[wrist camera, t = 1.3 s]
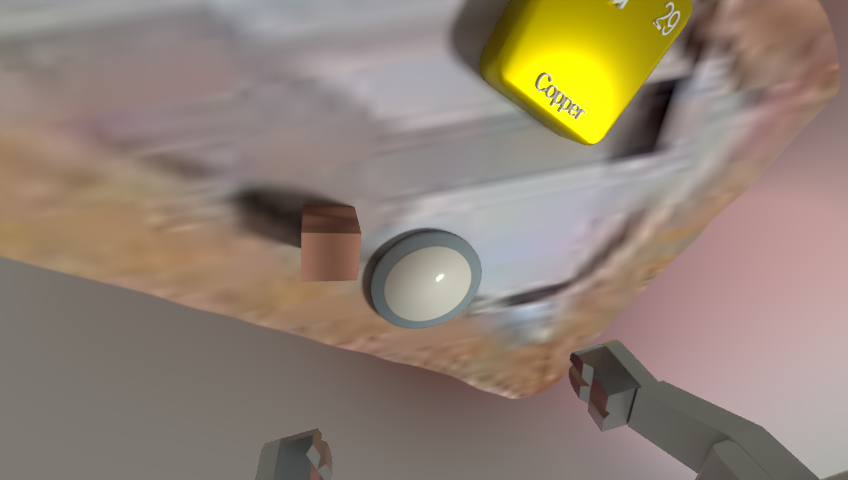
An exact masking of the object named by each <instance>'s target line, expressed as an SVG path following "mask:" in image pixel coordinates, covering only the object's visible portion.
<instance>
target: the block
mask: <svg viewBox="0 0 848 480" xmlns="http://www.w3.org/2000/svg"><path fill="white" fill-rule="evenodd" d="M360 243H361V231H360V227H359V223H358V219H357V215H356V211H355V207H342V206H318V205H303V216H302V231H301V282H307V281H346V280H357V277H358V266H359V254H360Z"/></svg>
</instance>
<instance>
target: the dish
mask: <svg viewBox="0 0 848 480" xmlns="http://www.w3.org/2000/svg"><path fill="white" fill-rule="evenodd" d="M481 275H482V269H481V263H480V260H479V257H478V255H477V254H476V252H475V251H474V249H473V248H472V247H471V246H470V244H469V243H468V242H467V241H465V240H464V239H463V238H461V237H459V236H457V235H455V234H452V233H449V232H445V231H426V232H420V233H417V234H413V235H411V236H408V237H406V238H404V239H402V240H400V241H399V242H397V243H396V244H394V245H393V246H392V247H391V248H389V249H388V250H387V251H386V252H385V253H384V254H383V256H382V257H381V258H380V260H379V261H378V262H377V264H376V266H375V268H374V271H373V273H372V277H371V282H370V290H371V296H372V300H373V303H374V306H375V308H376V310H377V311H378V313H379V314H380V315H381V316H382V317H383V318H384V319H385V320H387V321H388V322H390V323H392V324H394V325H396V326H399V327H403V328H409V329H421V328H428V327H433V326H436V325H439V324H441V323H444V322H446V321H448V320H450V319H451V318H453V317H454V316H456V315H457V314H459V313H460V312H461V311H462V310H463V309H464V308H465V307H466V306H467V305H468V304H469V303H470V302H471V300H472V299H473V297H474V296H475V294H476V292H477V290H478V288H479V285H480V281H481Z"/></svg>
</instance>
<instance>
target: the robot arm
mask: <svg viewBox="0 0 848 480" xmlns="http://www.w3.org/2000/svg"><path fill="white" fill-rule="evenodd" d="M570 361H571V363H572V364H573V365H572V366H571V367H570V368H569V379H570V382H571V385H572V387H573V389H574V391H575V393H576V394H577V396H578V397H579V398H580V399H581V400H583V401H585V402H586V403H588V412H589V414H590V415H591V417H592V418H593V420H594V421H595V423H596V424H597V426H598V427H599V428H600V430H601V432H603V431H606V430H610V429H613V428H617V427H620V426H623V425H627V424H628V426H629V427H630V428H632V429H633V430H634V431H636V432H637V433H639V434H641V435H642V436H643V437H645V438H646V439H648V440H649V441H651V442H652V443H654V444H655V445H657V446H658V447H659V448H661V449H663V450H664V451H665V452H667V453H668V454H670V455H671V456H673V457H674V458H676V459H677V460H679V461H680V462H682V463H683V464H685V465H686V466H688V467H689V468H691V469H692V470H693V471H695V472H696V473H698V475H697V477H696V479H695V480H820V479H819V478H818V477H817V476H816V475H815V474H813V473H812V472H811V471H810V470H809V469H808V468H807V467H806V466H805V465H803V464H802V463H801V462H800V461H799V460H798V459H797V458H796V457H795V456H794V455H792V453H790V452H789V451H788V450H787V449H786V448H785V447H784V446H783V445H782V444H780V443H779V442H778V441H777V440H776V439H775V438H774V437H773V436H772V435H771V434H770V433H769V432H767V431H766V430H765V429H764V428H763V427H761V426H759V425H757V424H755V423H753V422H751V421H749V420H746V419H744V418H742V417H740V416H738V415H736V414H734V413H731V412H729V411H727V410H725V409H723V408H721V407H718V406H716V405H714V404H712V403H710V402H708V401H706V400H704V399H701V398H699V397H697V396H695V395H693V394H691V393H689V392H687V391H684V390H682V389H680V388H678V387H676V386H674V385H671V384H669V383H667V382H665V381H659V382H658V381H657V380H656V379H655V378H654V376H653V375H652V374H651V373H650V372H649V371H648V370H647V369H646V368H645V367H644V366H643V365H642V364H641V363H640V362H639V361H638V360H637V359H636V358H635V356H634V355H633V354H632V353H631V352H630V351H629V350H628V349H627V348H626V347H625V346H624V345H623V344H622V343H621V342H620V341H618V340H612V341H609V342H605V343H602V344H597V345H594V346H591V347H588V348H585V349H582V350H579V351H575V352H572V354H571V355H570ZM321 438H322V434H321V432H320V431H319V429H318V428H316V429H313V430H310V431H306V432H303V433H299V434H296V435H292V436H289V437H285V438H281V439H277V440H274V441H271V442H268V443H265V444H264V446H263V449H262V451H261V455H260V461H259V465H258V470H257V475H256V479H255V480H330V478H331V476H332V456H331V451H330V448H329V445H328V444H327V442H325V441H323V440H321ZM821 480H848V470H846V471H843V472H841V473H838V474H835V475H832V476H829V477H827V478H824V479H821Z"/></svg>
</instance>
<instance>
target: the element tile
mask: <svg viewBox="0 0 848 480" xmlns="http://www.w3.org/2000/svg"><path fill="white" fill-rule="evenodd" d="M691 12H692V0H510V1H509V3H508V5H507V7H506V9H505V11H504V12H503V14H502V16H501V18H500V20H499V21H498V23H497V25H496V27H495V29H494V30H493V32H492V34H491V36H490V38H489V40H488V41H487V43H486V45H485V47H484V49H483V51H482V54H481V57H480V63H479V67H480V73H481V75H482V77H483V79H484V80H485V81H486V82H487V83H488V84H489V85H490V86H492V87H493V88H494V89H496V90H497V91H499V92H500V93H501V94H503V95H504V96H505V97H507V98H508V99H510V100H511V101H512V102H514V103H515V104H516V105H518V106H519V107H521V108H522V109H523V110H525V111H526V112H527V113H529V114H530V115H532V116H533V117H534V118H536V119H537V120H538V121H540V122H541V123H543V124H544V125H545V126H547V127H548V128H549V129H551V130H552V131H554V132H555V133H556V134H558V135H559V136H561V137H564V138H567V139H569V140H572V141H575V142H577V143H580V144H583V145H594V144H596V143H598V142H599V141H601V140H602V139H603V138H604V137H605V136H606V135H607V133H608V132H609V131H610V129H611V128H612V127H613V125H614V124H615V122H616V121H617V120H618V118H619V117H620V115H621V114H622V113H623V111H624V110H625V109H626V107H627V106H628V104H629V103H630V102H631V100H632V99H633V98H634V96H635V95H636V93H637V92H638V91H639V89H640V88H641V87H642V85H643V84H644V82H645V81H646V80H647V78H648V77H649V75H650V74H651V73H652V71H653V70H654V69H655V67H656V66H657V64H658V63H659V62H660V60H661V59H662V58H663V56H664V55H665V53H666V52H667V51H668V49H669V48H670V47H671V45H672V44H673V42H674V41H675V40H676V38H677V37H678V35H679V34H680V33H681V31H682V30H683V29H684V27H685V25H686V23H687V21H688V19H689V16H690V14H691Z"/></svg>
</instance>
